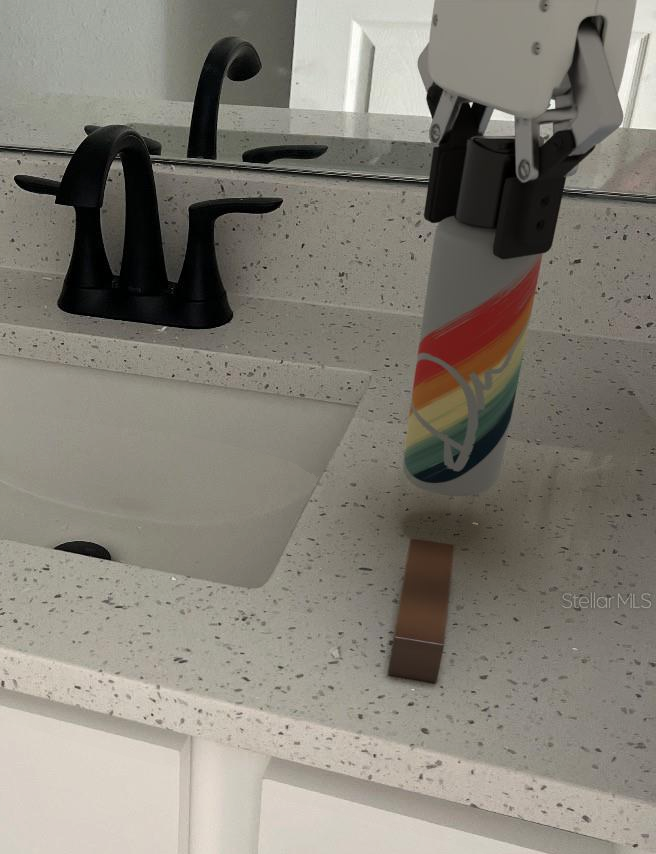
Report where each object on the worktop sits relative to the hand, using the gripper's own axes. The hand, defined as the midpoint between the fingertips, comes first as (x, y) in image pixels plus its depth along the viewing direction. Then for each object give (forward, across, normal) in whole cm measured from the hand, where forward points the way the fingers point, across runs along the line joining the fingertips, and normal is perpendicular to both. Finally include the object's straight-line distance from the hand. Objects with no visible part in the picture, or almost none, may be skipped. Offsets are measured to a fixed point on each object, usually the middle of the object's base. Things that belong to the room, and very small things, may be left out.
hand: (485, 232), depth 64 cm
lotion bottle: (+15, 0, 0) cm, 15 cm away
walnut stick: (+18, -9, +6) cm, 21 cm away
